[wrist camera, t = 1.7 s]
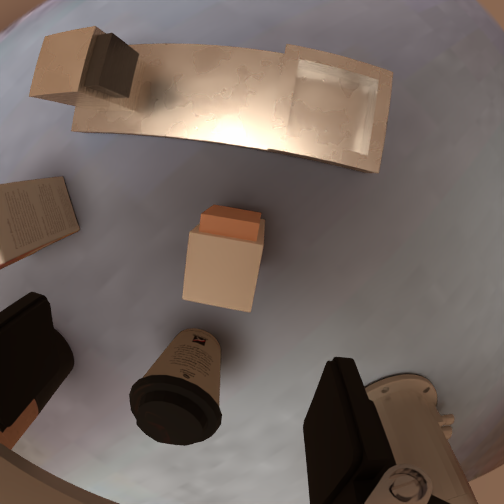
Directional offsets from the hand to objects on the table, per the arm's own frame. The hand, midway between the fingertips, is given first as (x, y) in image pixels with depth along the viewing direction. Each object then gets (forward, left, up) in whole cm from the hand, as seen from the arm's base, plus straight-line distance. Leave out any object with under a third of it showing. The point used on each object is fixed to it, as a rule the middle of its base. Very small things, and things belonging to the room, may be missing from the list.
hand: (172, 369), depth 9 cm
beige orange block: (0, 0, -16) cm, 16 cm away
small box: (+19, +1, -17) cm, 25 cm away
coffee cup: (+2, +11, -17) cm, 20 cm away
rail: (+3, -11, -16) cm, 20 cm away
